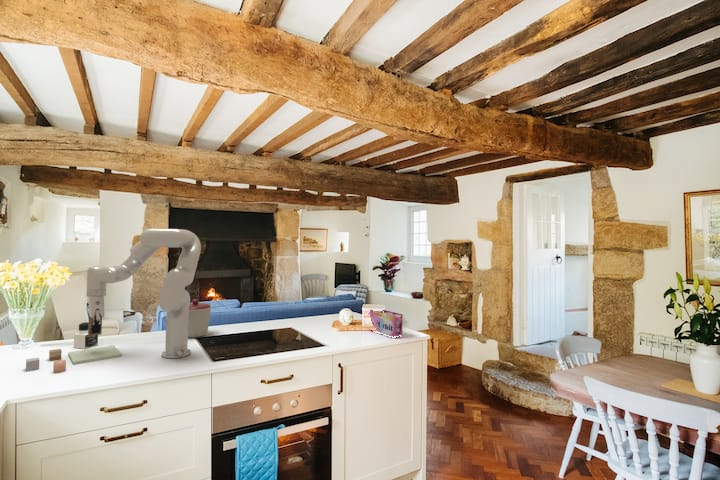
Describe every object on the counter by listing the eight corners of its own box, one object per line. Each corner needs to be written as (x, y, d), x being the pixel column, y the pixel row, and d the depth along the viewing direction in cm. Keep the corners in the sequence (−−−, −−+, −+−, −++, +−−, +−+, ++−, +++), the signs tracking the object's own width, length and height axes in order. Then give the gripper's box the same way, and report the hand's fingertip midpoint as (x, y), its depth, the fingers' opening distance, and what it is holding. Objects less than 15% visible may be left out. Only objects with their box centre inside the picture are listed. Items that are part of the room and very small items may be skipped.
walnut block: (101, 334, 172) (102, 317, 172) (89, 335, 169) (90, 318, 169) (99, 332, 175) (100, 315, 175) (88, 333, 172) (88, 316, 172)
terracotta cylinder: (66, 371, 151) (66, 361, 151) (53, 373, 148) (54, 363, 148) (65, 368, 154) (65, 359, 154) (52, 371, 151) (53, 361, 151)
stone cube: (39, 369, 153) (39, 359, 153) (26, 371, 150) (26, 361, 150) (38, 366, 156) (38, 357, 156) (25, 369, 153) (26, 359, 153)
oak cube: (61, 359, 166) (61, 350, 166) (49, 361, 163) (50, 352, 163) (60, 357, 169) (60, 348, 169) (49, 359, 166) (49, 350, 166)
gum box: (404, 337, 217) (404, 314, 217) (394, 339, 212) (395, 316, 212) (377, 329, 236) (378, 308, 236) (368, 331, 231) (368, 309, 231)
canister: (183, 331, 219) (184, 296, 219) (215, 331, 221) (216, 296, 221) (171, 340, 201) (172, 301, 201) (206, 339, 203) (207, 301, 203)
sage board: (121, 356, 172) (121, 353, 172) (73, 364, 159) (73, 361, 159) (113, 347, 185) (113, 345, 185) (68, 354, 172) (68, 352, 172)
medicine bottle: (85, 349, 181) (85, 324, 181) (73, 347, 183) (73, 323, 183) (98, 345, 188) (98, 321, 188) (86, 344, 190) (87, 320, 190)
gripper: (109, 294, 168) (107, 334, 168) (102, 290, 181) (101, 327, 181) (89, 295, 163) (87, 336, 163) (83, 291, 175) (82, 329, 175)
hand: (94, 331), depth 172 cm, fingers closed on walnut block, 4 cm apart
